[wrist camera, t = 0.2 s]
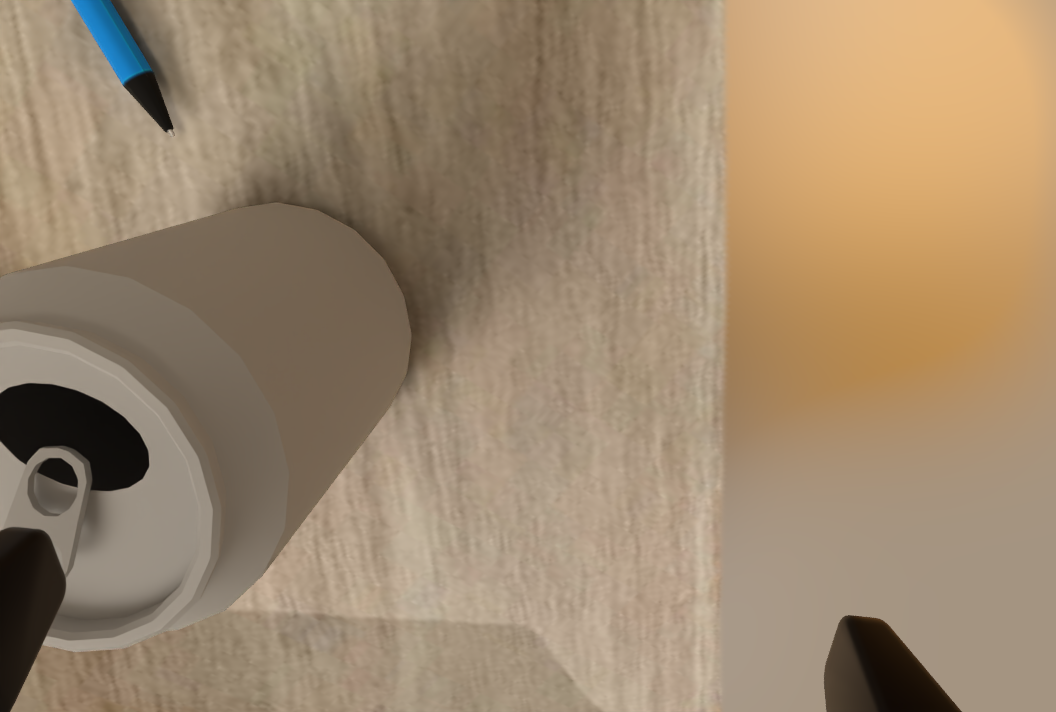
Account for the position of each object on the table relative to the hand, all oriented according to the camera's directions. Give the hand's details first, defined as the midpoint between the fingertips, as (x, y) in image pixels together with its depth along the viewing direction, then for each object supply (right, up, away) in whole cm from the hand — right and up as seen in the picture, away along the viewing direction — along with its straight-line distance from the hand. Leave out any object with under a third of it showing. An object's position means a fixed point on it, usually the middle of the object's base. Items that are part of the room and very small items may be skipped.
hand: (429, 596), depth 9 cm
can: (-6, +4, +16) cm, 18 cm away
